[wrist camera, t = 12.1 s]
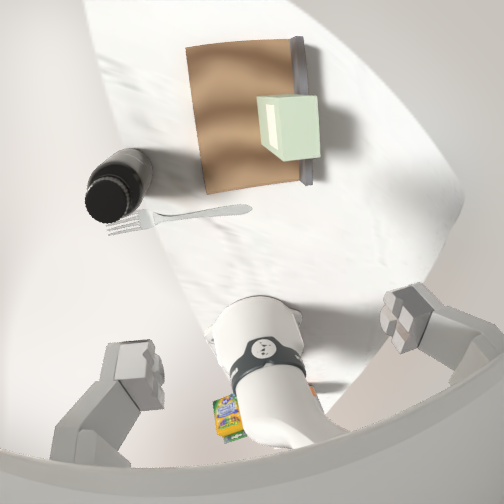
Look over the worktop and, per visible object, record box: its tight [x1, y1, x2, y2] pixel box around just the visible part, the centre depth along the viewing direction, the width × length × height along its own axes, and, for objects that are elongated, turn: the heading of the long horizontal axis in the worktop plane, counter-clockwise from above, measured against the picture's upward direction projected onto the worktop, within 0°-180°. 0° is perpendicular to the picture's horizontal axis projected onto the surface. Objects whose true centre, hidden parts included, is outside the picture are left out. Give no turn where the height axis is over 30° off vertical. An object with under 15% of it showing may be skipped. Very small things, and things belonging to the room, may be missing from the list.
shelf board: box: [186, 36, 313, 194], centre depth 34 cm, size 20×14×4 cm
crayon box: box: [213, 394, 247, 444], centre depth 62 cm, size 7×3×12 cm, turn 119°
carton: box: [257, 94, 320, 161], centre depth 31 cm, size 4×6×10 cm, turn 6°
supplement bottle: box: [85, 149, 153, 224], centre depth 31 cm, size 7×7×12 cm
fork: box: [106, 204, 252, 236], centre depth 41 cm, size 3×24×2 cm, turn 91°
